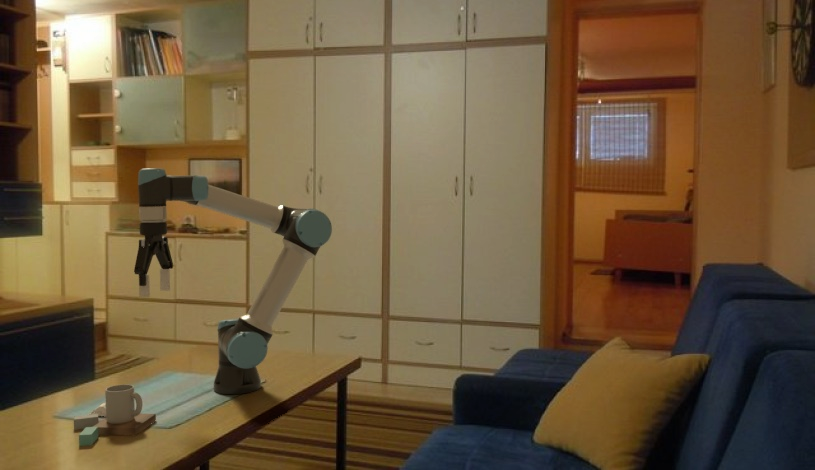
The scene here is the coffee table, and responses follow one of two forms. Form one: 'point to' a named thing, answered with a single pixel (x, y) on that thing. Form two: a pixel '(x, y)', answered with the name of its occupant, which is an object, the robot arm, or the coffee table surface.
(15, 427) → the coffee table surface
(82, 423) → the grey brick
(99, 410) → the toy car
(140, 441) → the coffee table surface
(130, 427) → the walnut block
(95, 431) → the teal brick
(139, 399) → the cup
